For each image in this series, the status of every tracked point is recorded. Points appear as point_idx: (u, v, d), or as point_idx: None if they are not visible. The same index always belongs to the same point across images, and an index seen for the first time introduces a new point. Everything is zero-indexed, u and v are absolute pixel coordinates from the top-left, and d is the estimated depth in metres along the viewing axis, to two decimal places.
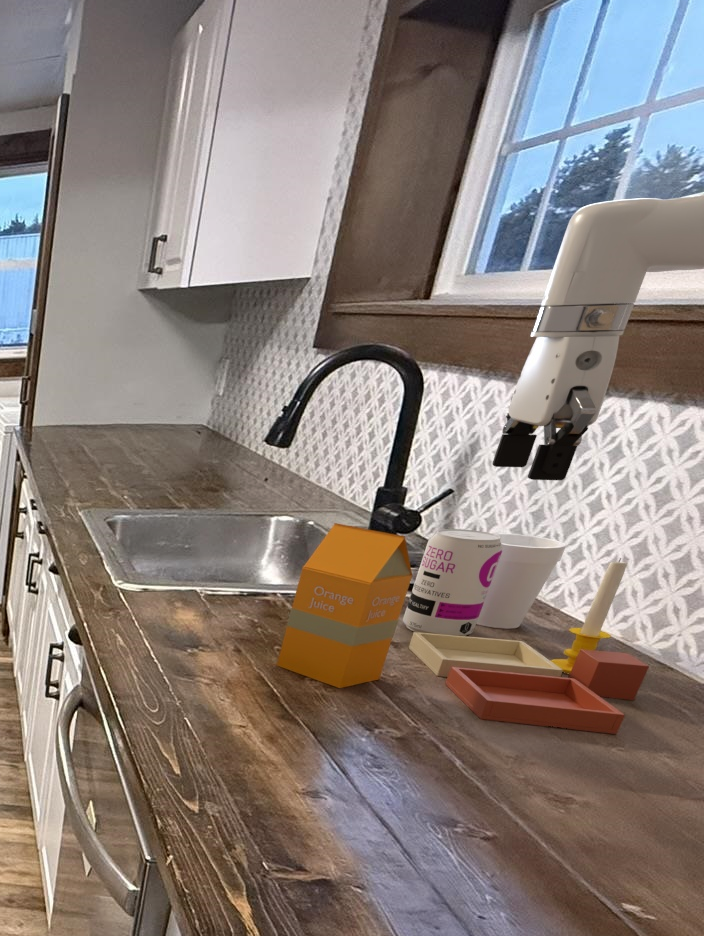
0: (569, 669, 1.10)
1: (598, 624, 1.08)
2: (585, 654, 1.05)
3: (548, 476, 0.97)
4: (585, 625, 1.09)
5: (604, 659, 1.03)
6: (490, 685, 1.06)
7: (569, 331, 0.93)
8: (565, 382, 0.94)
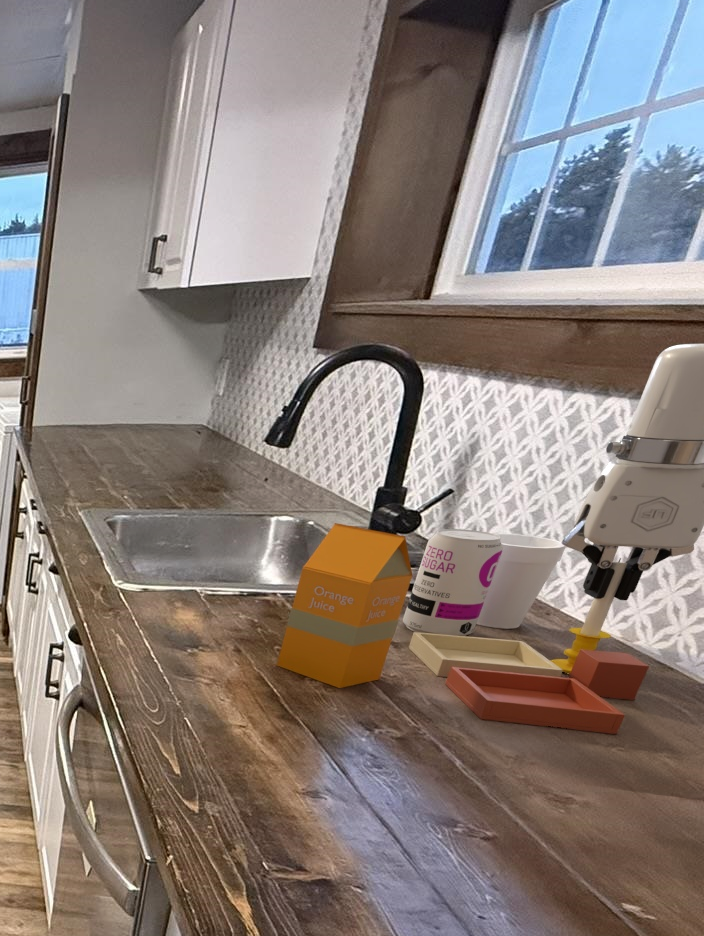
0: (569, 669, 1.10)
1: (598, 624, 1.08)
2: (585, 654, 1.05)
3: (591, 592, 1.08)
4: (585, 625, 1.09)
5: (604, 659, 1.03)
6: (490, 685, 1.06)
7: None
8: (588, 499, 1.05)
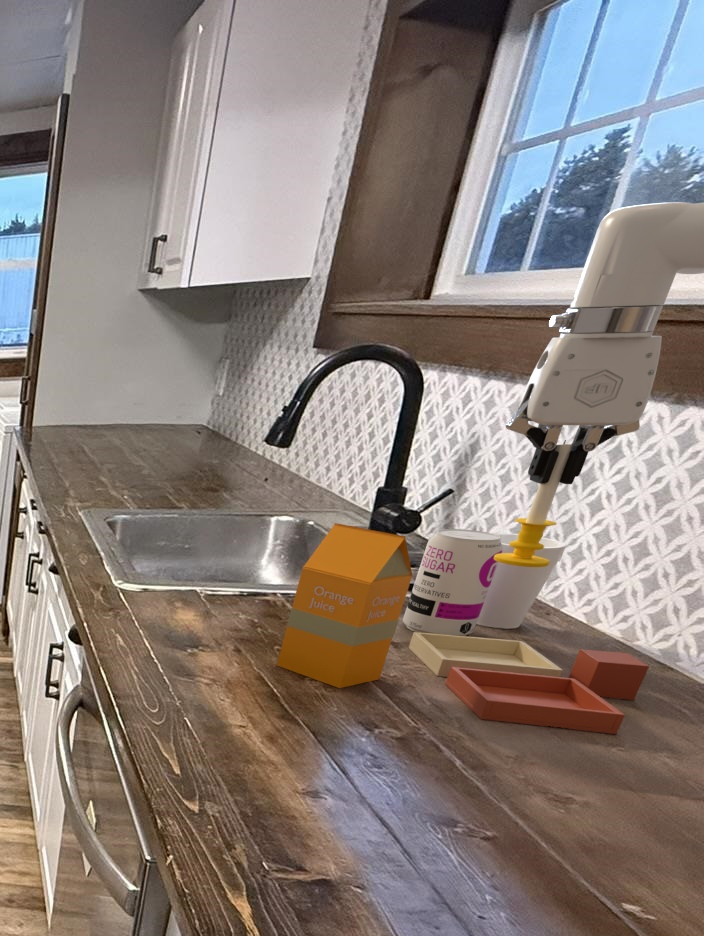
0: (514, 560, 1.06)
1: (543, 511, 1.04)
2: (585, 654, 1.05)
3: (536, 478, 1.04)
4: (531, 513, 1.05)
5: (604, 659, 1.03)
6: (490, 685, 1.06)
7: None
8: (532, 379, 1.02)
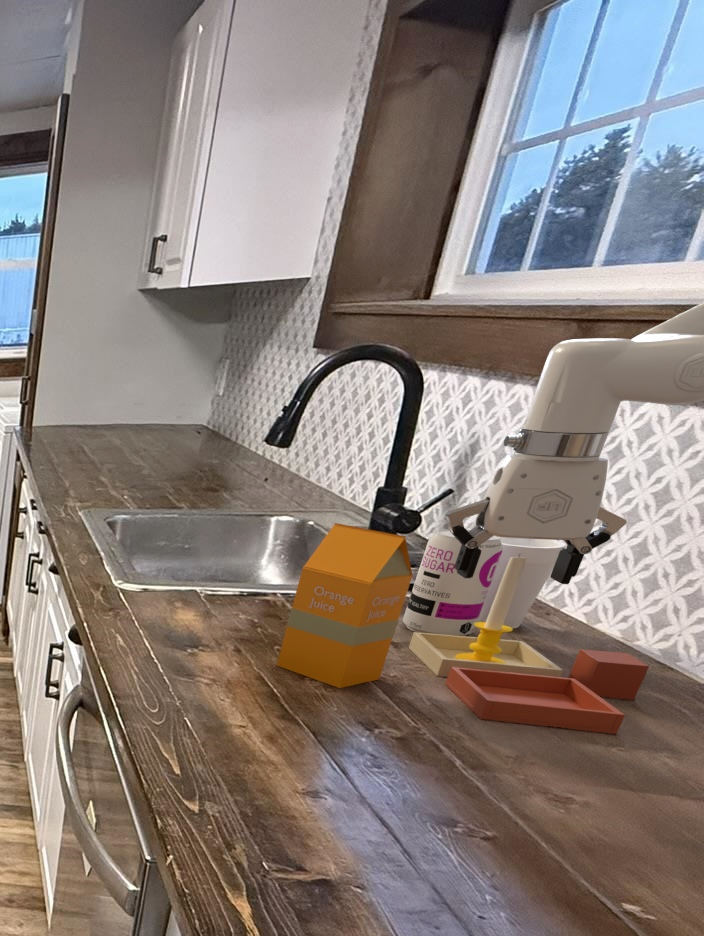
0: None
1: (500, 618, 1.10)
2: (585, 654, 1.05)
3: (462, 572, 1.10)
4: (489, 619, 1.11)
5: (604, 659, 1.03)
6: (490, 685, 1.06)
7: None
8: (488, 492, 1.07)
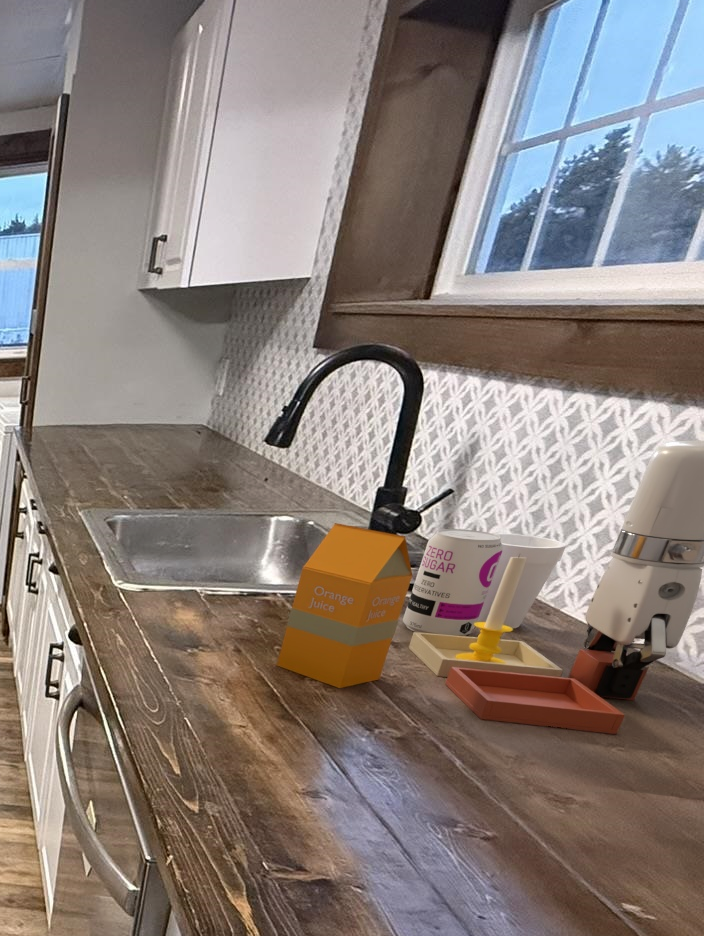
0: None
1: (500, 618, 1.10)
2: (585, 654, 1.05)
3: (615, 694, 1.02)
4: (489, 619, 1.11)
5: (604, 659, 1.03)
6: (490, 685, 1.06)
7: (652, 561, 0.96)
8: (647, 609, 0.97)
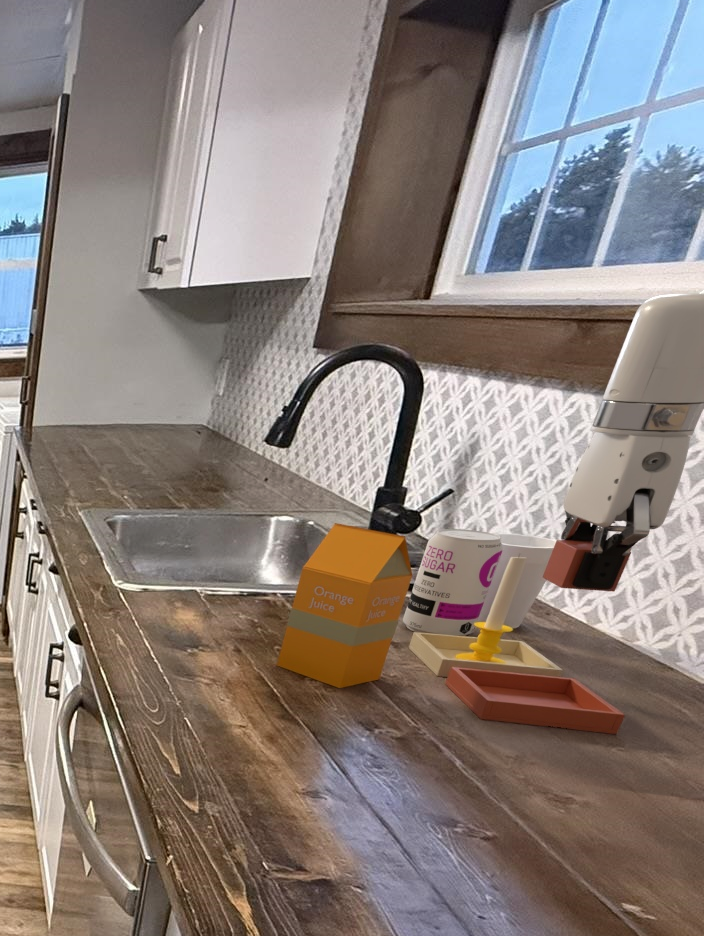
0: None
1: (500, 618, 1.10)
2: (562, 544, 0.96)
3: (594, 585, 0.93)
4: (489, 619, 1.11)
5: (582, 547, 0.94)
6: (490, 685, 1.06)
7: (635, 429, 0.87)
8: (630, 484, 0.88)
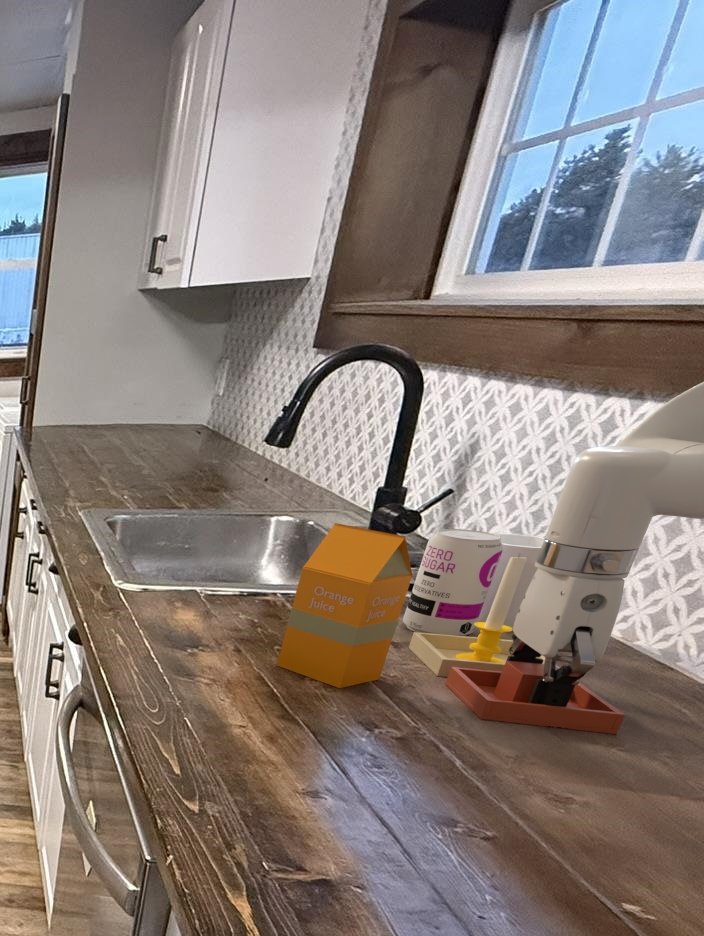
0: None
1: (500, 618, 1.10)
2: (510, 666, 1.01)
3: None
4: (489, 619, 1.11)
5: (528, 671, 0.99)
6: (490, 685, 1.06)
7: (574, 571, 0.93)
8: (570, 621, 0.93)
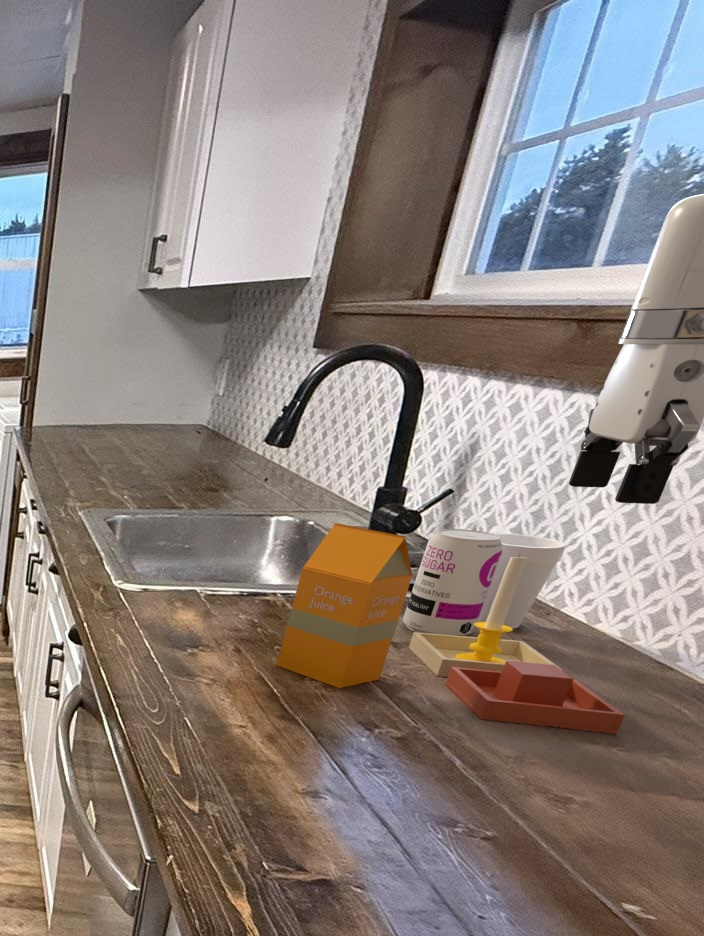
0: None
1: (500, 618, 1.10)
2: (510, 666, 1.01)
3: (639, 499, 0.87)
4: (489, 619, 1.11)
5: (528, 671, 0.99)
6: (490, 685, 1.06)
7: (666, 338, 0.83)
8: (661, 395, 0.84)
